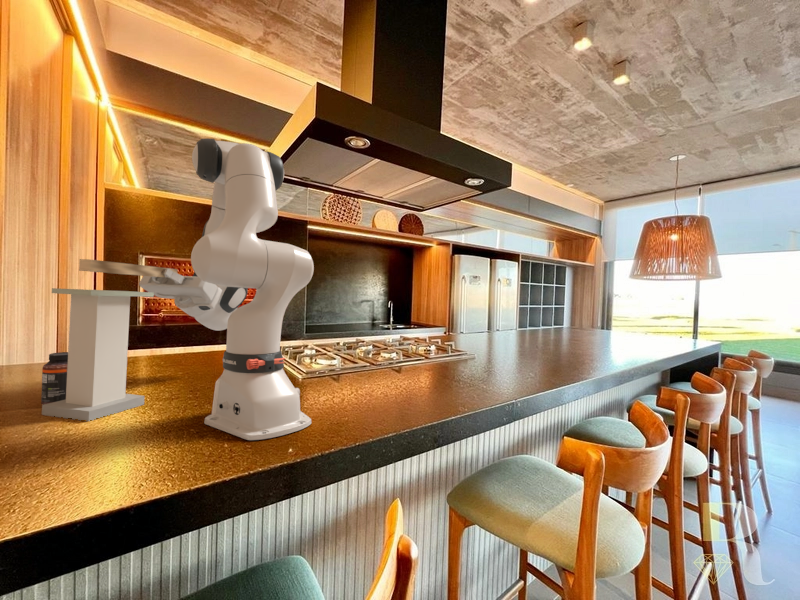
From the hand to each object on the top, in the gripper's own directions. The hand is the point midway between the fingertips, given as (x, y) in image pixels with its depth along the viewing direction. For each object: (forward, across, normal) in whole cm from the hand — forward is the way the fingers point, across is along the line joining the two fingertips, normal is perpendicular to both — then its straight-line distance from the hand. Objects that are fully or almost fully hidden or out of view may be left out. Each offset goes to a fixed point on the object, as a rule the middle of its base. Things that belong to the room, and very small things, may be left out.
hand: (157, 270), depth 90 cm
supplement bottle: (-5, -11, +34) cm, 36 cm away
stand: (-4, 0, +34) cm, 34 cm away
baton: (+5, 0, +5) cm, 7 cm away
